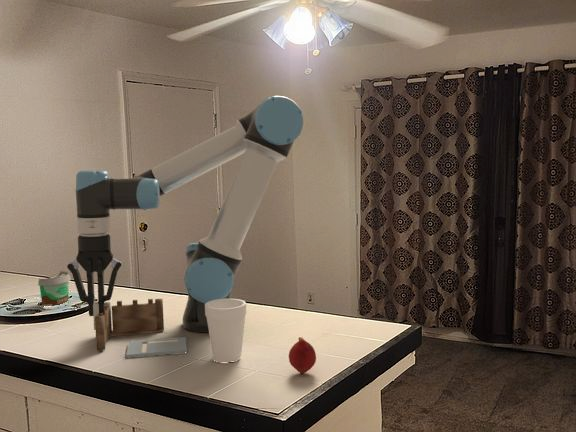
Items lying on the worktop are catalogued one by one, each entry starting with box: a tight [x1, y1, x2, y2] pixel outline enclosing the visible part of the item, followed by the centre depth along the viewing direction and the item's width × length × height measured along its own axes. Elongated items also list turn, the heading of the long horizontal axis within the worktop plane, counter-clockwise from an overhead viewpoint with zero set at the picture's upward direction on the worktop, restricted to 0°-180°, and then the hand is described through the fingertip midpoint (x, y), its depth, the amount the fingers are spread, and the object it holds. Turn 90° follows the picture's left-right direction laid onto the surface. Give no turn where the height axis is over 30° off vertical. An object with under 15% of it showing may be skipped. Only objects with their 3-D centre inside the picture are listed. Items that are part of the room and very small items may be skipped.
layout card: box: [125, 336, 188, 359], centre depth 143 cm, size 14×10×1 cm
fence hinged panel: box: [94, 305, 110, 352], centre depth 147 cm, size 13×2×8 cm, turn 9°
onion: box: [288, 336, 317, 374], centre depth 125 cm, size 6×6×8 cm
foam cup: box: [205, 298, 247, 363], centre depth 135 cm, size 10×9×13 cm
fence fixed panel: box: [104, 298, 165, 337], centre depth 156 cm, size 15×4×9 cm, turn 101°
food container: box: [37, 270, 72, 308], centre depth 184 cm, size 12×6×10 cm, turn 168°
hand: (97, 328), depth 145 cm, fingers closed
